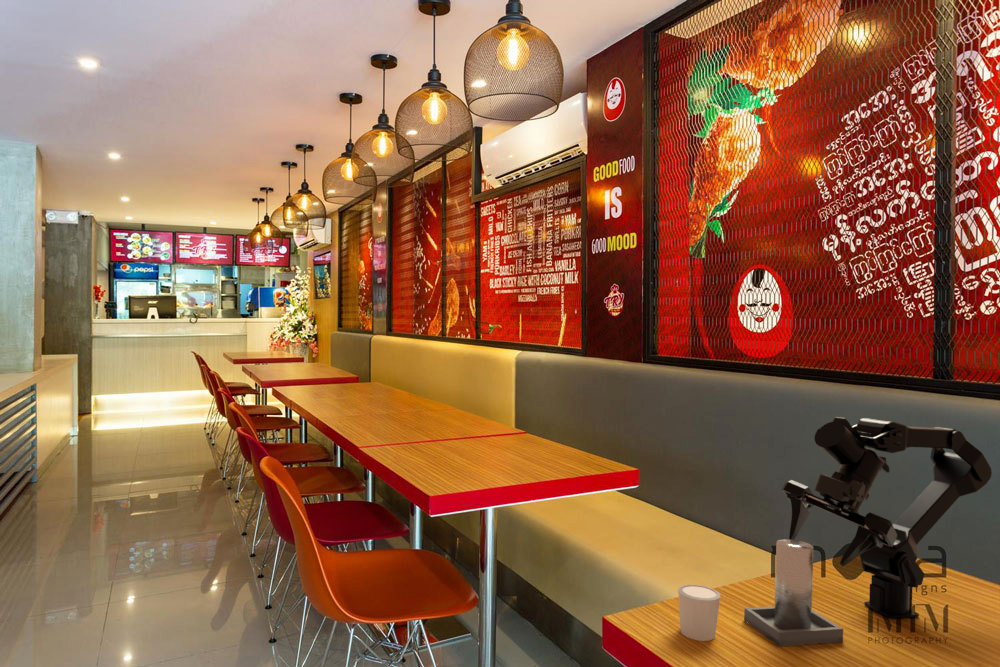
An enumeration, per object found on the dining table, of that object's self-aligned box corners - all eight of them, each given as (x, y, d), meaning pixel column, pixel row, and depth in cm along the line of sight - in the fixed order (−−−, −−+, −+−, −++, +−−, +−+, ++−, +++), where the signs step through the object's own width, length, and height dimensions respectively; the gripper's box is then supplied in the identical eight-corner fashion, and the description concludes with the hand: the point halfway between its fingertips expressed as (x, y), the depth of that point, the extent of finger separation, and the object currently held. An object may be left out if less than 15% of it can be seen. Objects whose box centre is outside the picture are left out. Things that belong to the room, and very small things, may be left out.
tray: (803, 617, 117) (803, 604, 117) (842, 642, 107) (843, 628, 107) (744, 620, 114) (744, 608, 114) (778, 646, 105) (779, 632, 105)
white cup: (722, 645, 104) (723, 601, 104) (678, 639, 106) (679, 596, 106) (716, 627, 111) (717, 586, 111) (675, 622, 112) (676, 582, 113)
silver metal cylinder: (787, 616, 115) (790, 537, 115) (818, 629, 110) (820, 547, 110) (766, 622, 112) (769, 541, 112) (797, 636, 107) (799, 551, 107)
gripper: (793, 440, 120) (753, 511, 116) (901, 479, 105) (859, 561, 102) (809, 467, 127) (771, 535, 123) (913, 507, 112) (873, 585, 109)
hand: (815, 552), depth 114 cm, fingers open, 9 cm apart
